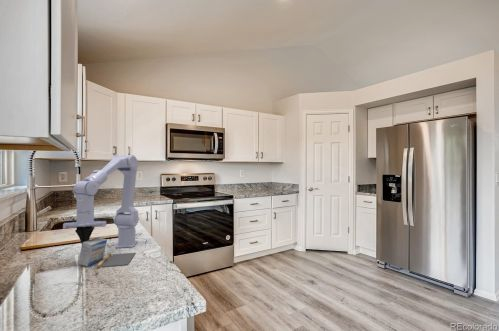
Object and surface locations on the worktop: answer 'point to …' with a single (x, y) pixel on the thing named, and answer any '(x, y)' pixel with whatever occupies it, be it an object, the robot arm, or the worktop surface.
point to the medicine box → (92, 251)
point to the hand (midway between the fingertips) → (85, 245)
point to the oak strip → (103, 261)
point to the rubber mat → (119, 260)
